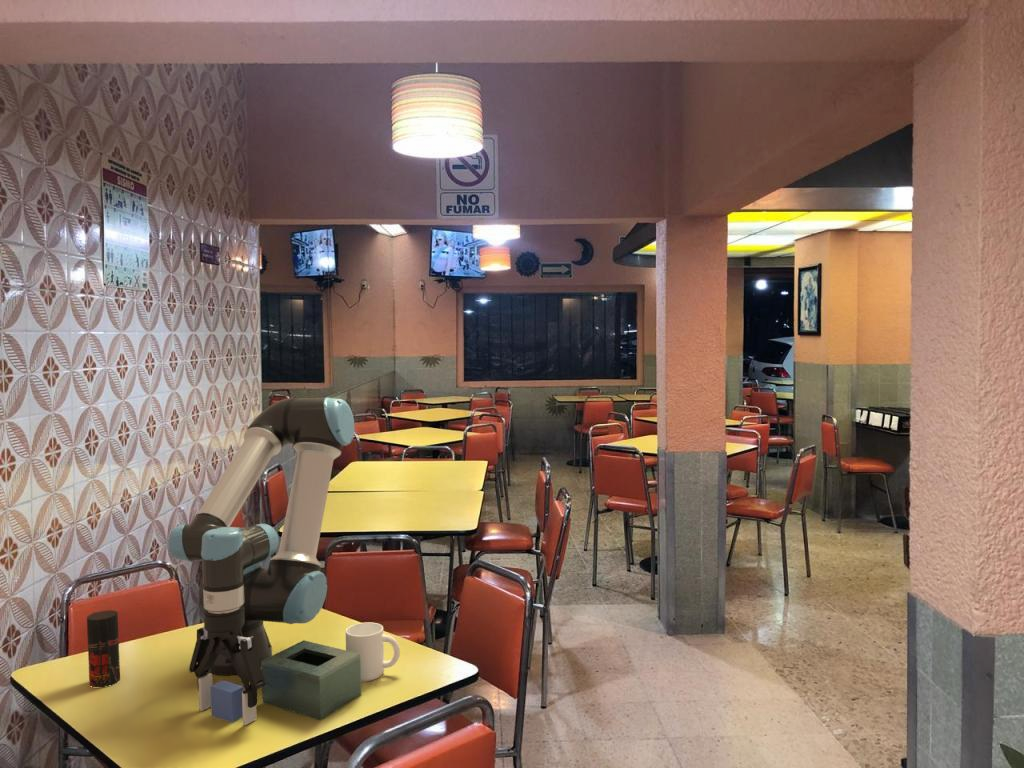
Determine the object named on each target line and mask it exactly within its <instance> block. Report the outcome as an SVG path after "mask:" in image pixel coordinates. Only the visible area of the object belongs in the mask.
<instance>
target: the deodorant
mask: <svg viewBox="0 0 1024 768" xmlns="http://www.w3.org/2000/svg"><path fill="white" fill-rule="evenodd" d="M118 616H119V614H118V611H117V610H111V609H110V610H100V611H96V612H93V613H91V614H89V615H87V616H86V629H87V630H86V631H87V634H86V635H87V653H88V654H87V655H88V657H87V658H88V678H89V686H92V687H91V688H93V687H103V688H106V687H105V686H107V687H110V686H109V685H111V686H114V685H115V684H117V683H119V682H120V681H121V669H120V668H121V667H120V666H121V665H120V664H121V663H120V662H121V661H120V641H119V640H120V639H119V617H118ZM118 681H119V682H118ZM113 684H114V685H113Z"/></svg>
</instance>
